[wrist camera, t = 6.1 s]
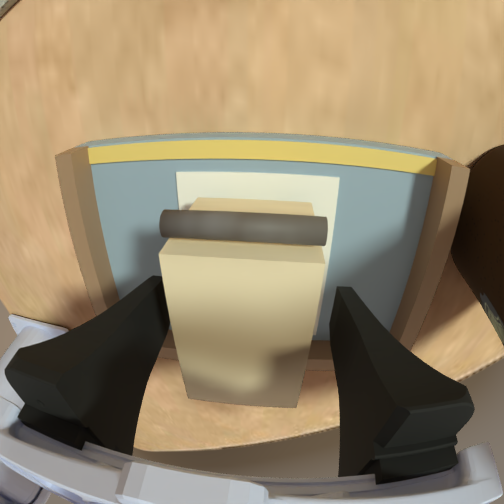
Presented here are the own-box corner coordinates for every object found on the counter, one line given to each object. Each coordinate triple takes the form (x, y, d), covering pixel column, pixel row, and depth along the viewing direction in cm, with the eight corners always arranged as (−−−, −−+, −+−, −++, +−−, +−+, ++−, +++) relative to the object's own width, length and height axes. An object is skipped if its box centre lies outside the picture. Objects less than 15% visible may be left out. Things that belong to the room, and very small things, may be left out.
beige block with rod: (295, 318, 16) (296, 408, 12) (212, 312, 17) (188, 398, 12) (310, 170, 12) (330, 229, 8) (203, 166, 13) (153, 220, 8)
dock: (390, 334, 19) (401, 368, 16) (125, 318, 20) (108, 348, 17) (439, 152, 13) (470, 169, 10) (88, 141, 14) (54, 155, 11)
